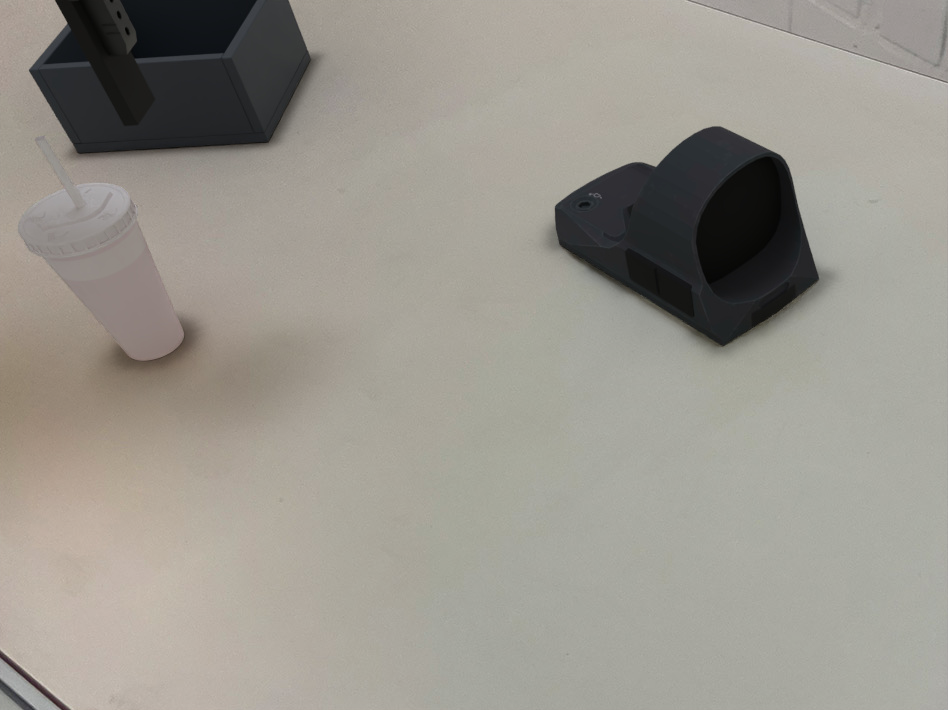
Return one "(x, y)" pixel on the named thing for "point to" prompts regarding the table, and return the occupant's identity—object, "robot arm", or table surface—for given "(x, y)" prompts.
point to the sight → (697, 232)
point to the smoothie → (103, 260)
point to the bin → (184, 75)
